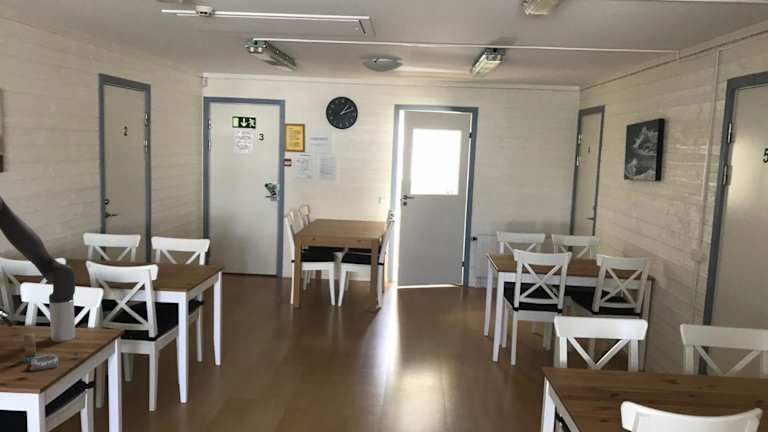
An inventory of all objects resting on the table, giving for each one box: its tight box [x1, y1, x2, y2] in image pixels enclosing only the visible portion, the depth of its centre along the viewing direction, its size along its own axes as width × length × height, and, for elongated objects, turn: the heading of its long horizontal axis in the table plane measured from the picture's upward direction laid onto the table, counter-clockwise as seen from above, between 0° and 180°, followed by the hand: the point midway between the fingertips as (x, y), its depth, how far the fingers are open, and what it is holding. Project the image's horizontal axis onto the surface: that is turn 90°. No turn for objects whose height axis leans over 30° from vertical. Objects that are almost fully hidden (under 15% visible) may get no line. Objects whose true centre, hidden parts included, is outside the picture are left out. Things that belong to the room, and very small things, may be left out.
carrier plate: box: [29, 354, 59, 372], centre depth 219 cm, size 9×9×2 cm
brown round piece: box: [21, 333, 40, 363], centre depth 224 cm, size 6×6×10 cm
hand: (5, 328), depth 222 cm, fingers open, 8 cm apart
